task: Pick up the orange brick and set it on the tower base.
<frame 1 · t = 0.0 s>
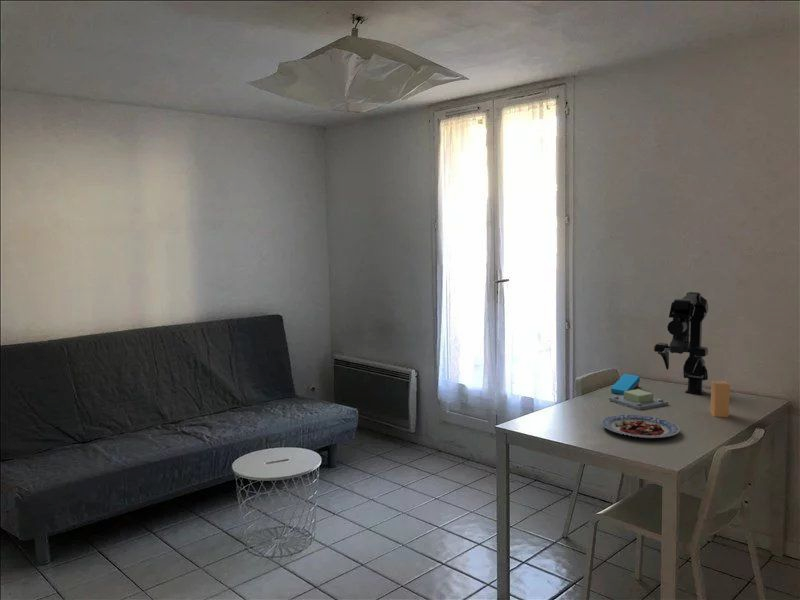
hand: (679, 371, 253), 15 cm above the table, tool pointing down, fingers open, 9 cm apart
orange brick: (719, 414, 244), on the table
tower base: (638, 402, 262), on the table
ceramic plate: (639, 431, 227), on the table
blue long block: (627, 391, 282), on the table
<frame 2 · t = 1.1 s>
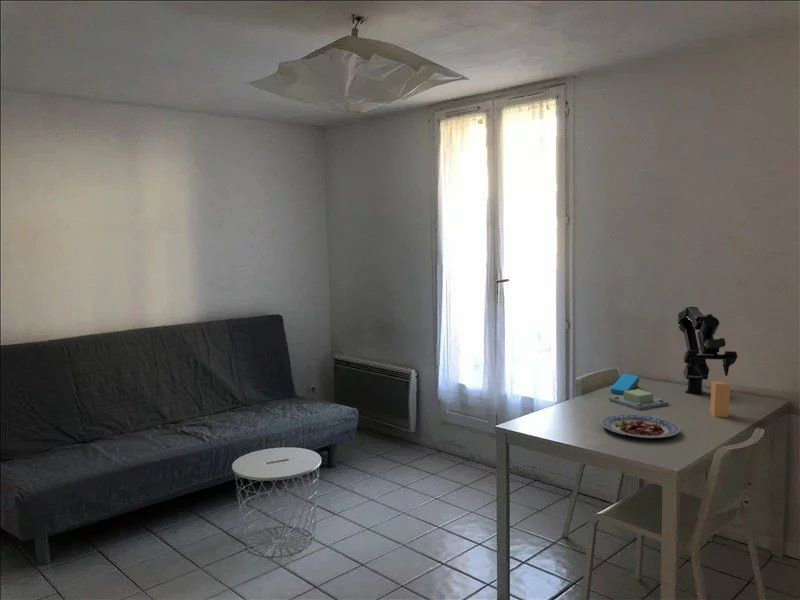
hand: (714, 375, 251), 13 cm above the table, tool tilted 45°, fingers open, 9 cm apart
nothing on the table moved.
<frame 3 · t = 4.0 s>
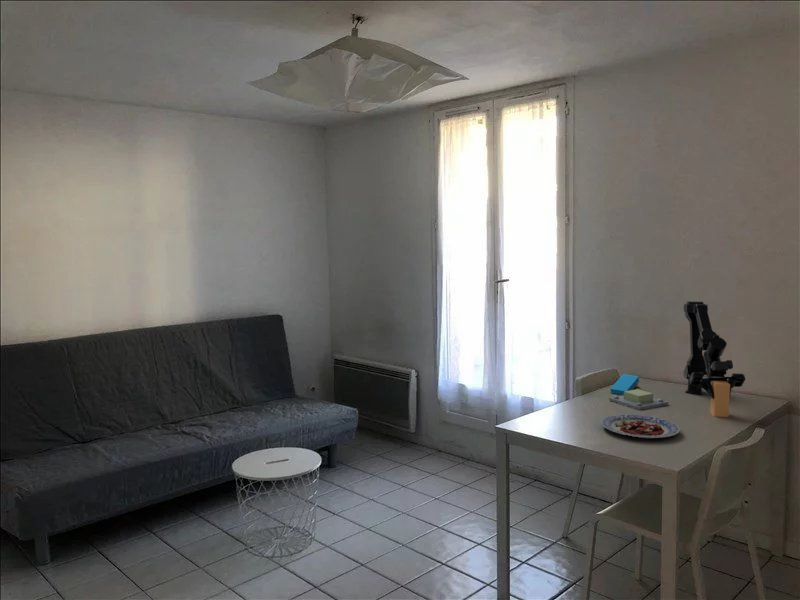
hand: (721, 398, 242), 7 cm above the table, tool tilted 45°, fingers closed on orange brick, 5 cm apart
orange brick: (719, 414, 244), on the table, touching gripper
everything else where it was.
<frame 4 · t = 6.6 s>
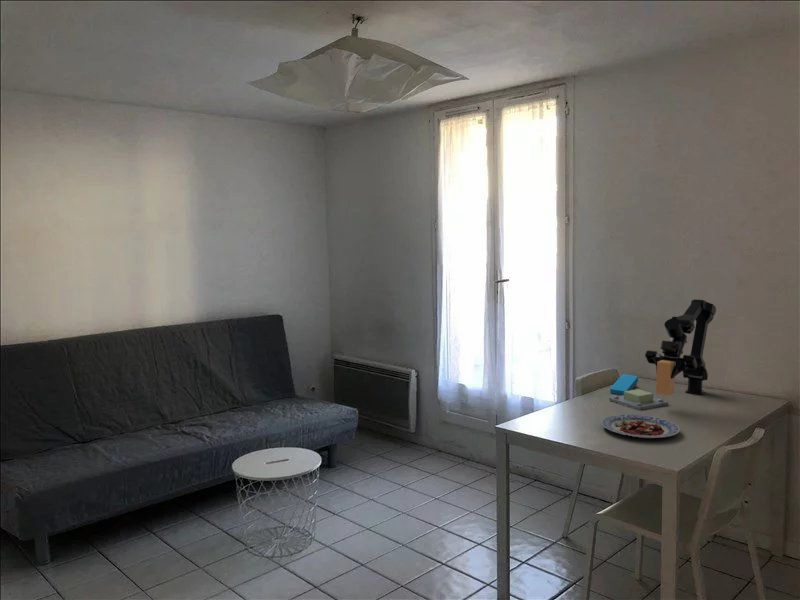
hand: (664, 377, 250), 13 cm above the table, tool tilted 45°, fingers closed on orange brick, 5 cm apart
orange brick: (665, 393, 252), point 6 cm above the table, touching gripper
everything else where it was.
when the fingers open (12 cm above the table, at t = 8.3 s): orange brick drops 1 cm, resting on tower base.
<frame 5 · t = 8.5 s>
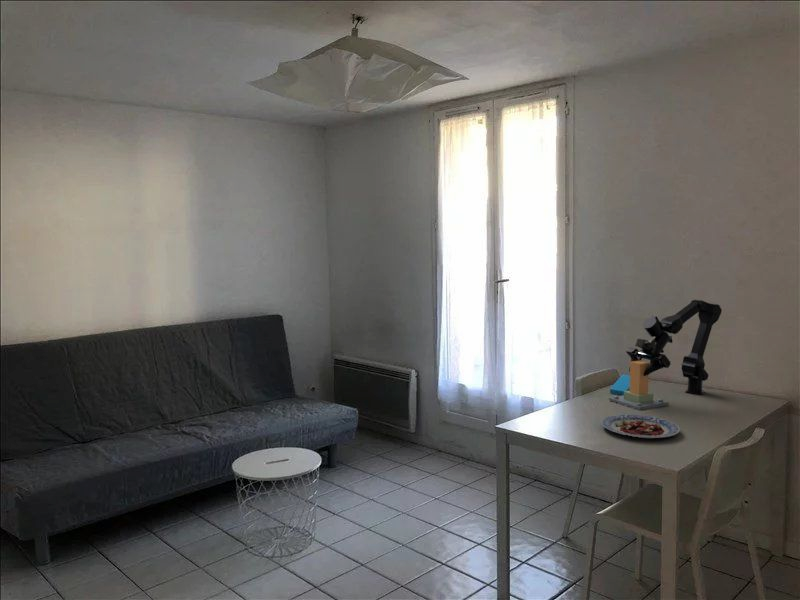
hand: (636, 373, 260), 12 cm above the table, tool tilted 45°, fingers open, 7 cm apart
orange brick: (638, 392, 261), point 4 cm above the table, touching tower base
everything else where it was.
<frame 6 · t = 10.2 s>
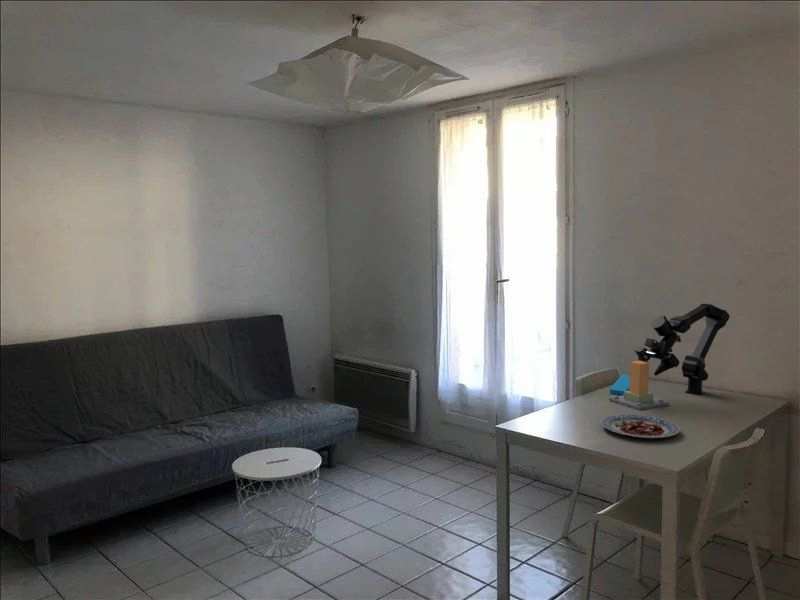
hand: (645, 372, 262), 12 cm above the table, tool tilted 45°, fingers open, 9 cm apart
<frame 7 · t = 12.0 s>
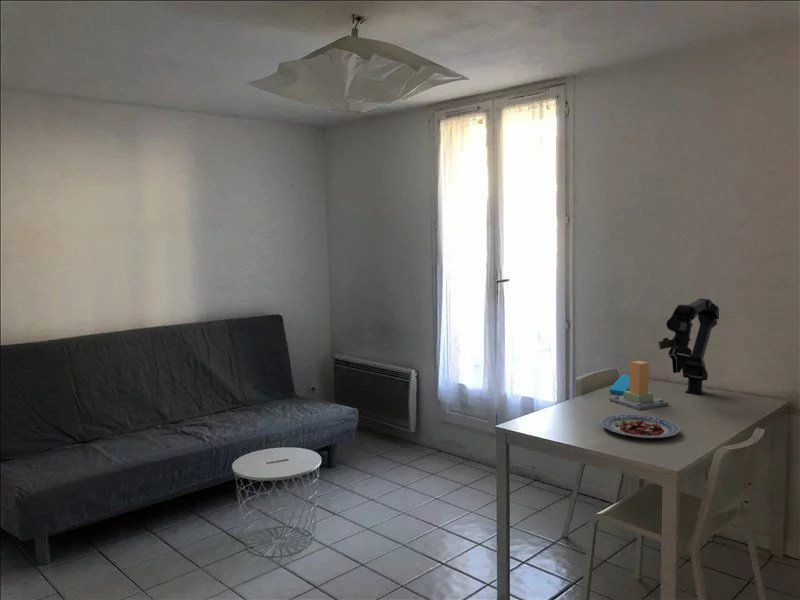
hand: (676, 372, 262), 12 cm above the table, tool tilted 15°, fingers open, 9 cm apart
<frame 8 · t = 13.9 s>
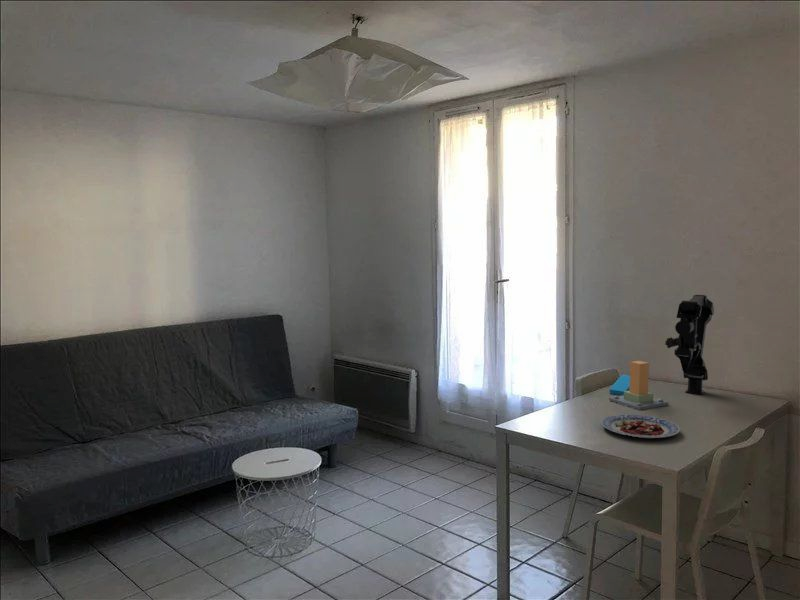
hand: (687, 369, 263), 13 cm above the table, tool pointing down, fingers open, 9 cm apart
at the end: orange brick 0.0 cm off-centre on the tower base, point 4.2 cm above the tower base's base; orange brick tilted 0°; the gripper is holding nothing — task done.
